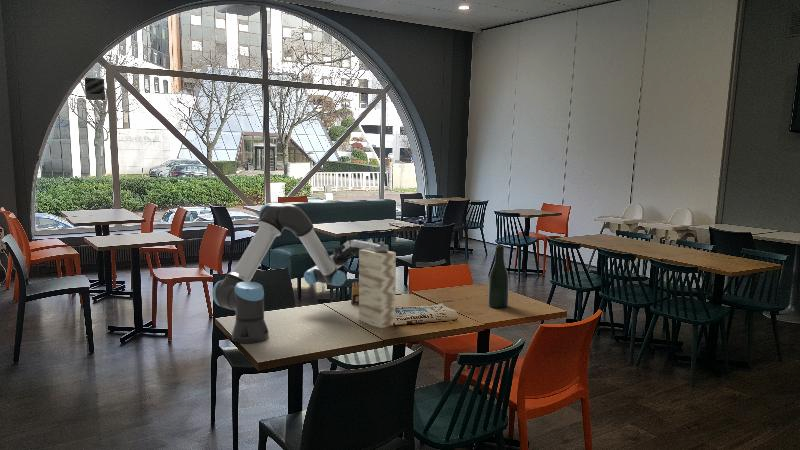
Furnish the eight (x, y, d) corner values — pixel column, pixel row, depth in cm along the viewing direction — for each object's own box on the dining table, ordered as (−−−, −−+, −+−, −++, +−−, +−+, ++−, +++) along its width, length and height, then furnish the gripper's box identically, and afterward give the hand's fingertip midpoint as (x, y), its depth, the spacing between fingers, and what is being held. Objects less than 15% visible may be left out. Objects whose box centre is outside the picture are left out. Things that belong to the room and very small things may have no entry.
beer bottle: (509, 309, 287) (511, 246, 283) (489, 308, 287) (491, 245, 283) (506, 303, 297) (508, 243, 294) (486, 303, 298) (488, 242, 294)
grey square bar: (380, 253, 250) (380, 243, 250) (347, 246, 269) (347, 237, 269) (391, 252, 254) (391, 242, 254) (358, 245, 273) (358, 236, 273)
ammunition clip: (352, 304, 293) (352, 282, 292) (350, 303, 295) (350, 281, 294) (370, 302, 299) (370, 280, 297) (368, 301, 300) (368, 279, 299)
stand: (380, 328, 252) (380, 254, 248) (358, 320, 264) (359, 249, 260) (395, 324, 258) (395, 252, 254) (373, 317, 270) (374, 248, 266)
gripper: (315, 254, 274) (336, 237, 259) (356, 249, 291) (378, 233, 276) (319, 268, 272) (341, 252, 257) (360, 263, 289) (383, 247, 274)
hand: (360, 242), depth 267 cm, fingers open, 13 cm apart
